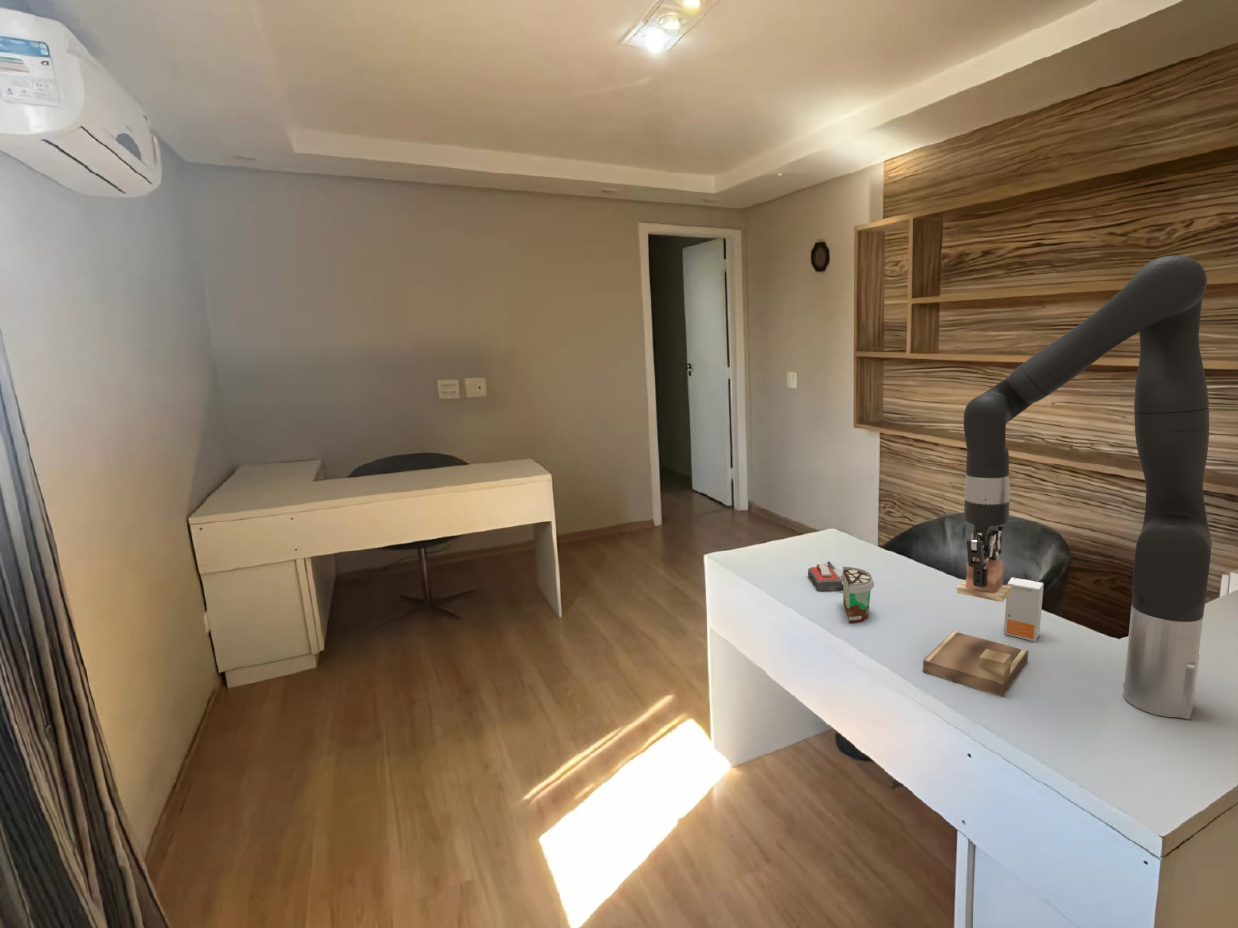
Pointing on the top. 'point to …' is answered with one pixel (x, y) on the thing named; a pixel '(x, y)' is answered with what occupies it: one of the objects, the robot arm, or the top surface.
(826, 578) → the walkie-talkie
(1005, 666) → the light brown wooden cube
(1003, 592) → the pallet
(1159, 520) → the robot arm
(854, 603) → the food container
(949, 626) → the top surface
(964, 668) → the dock
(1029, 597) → the skincare box
